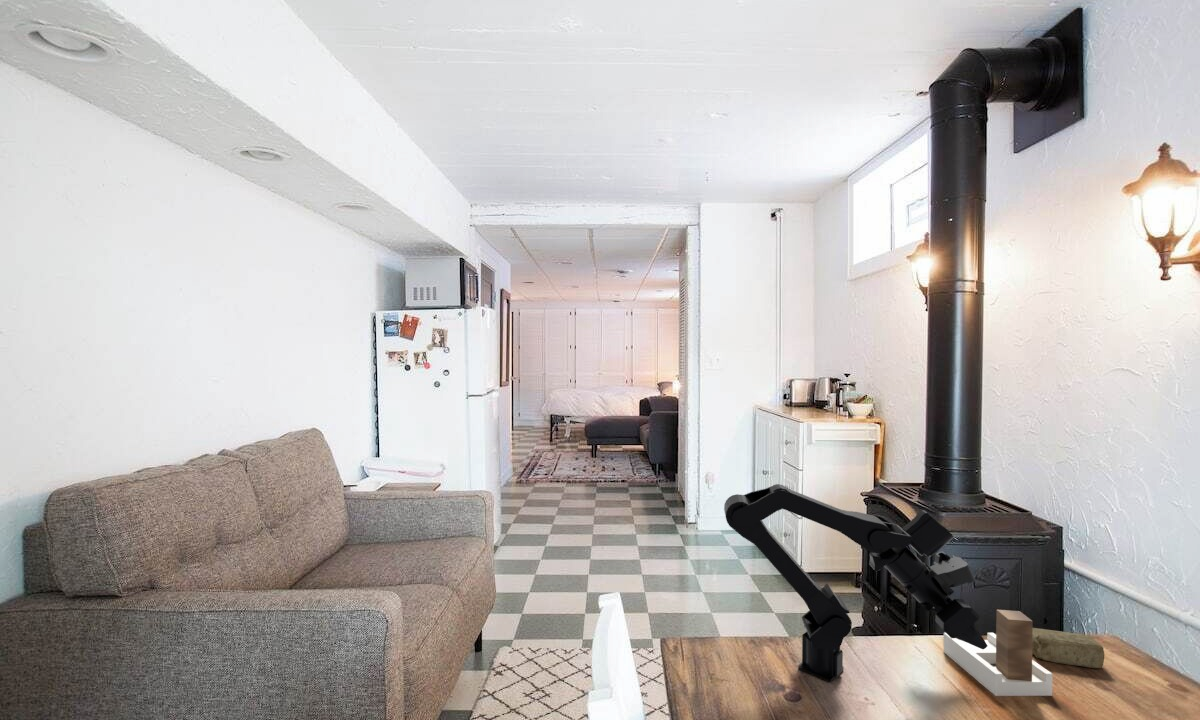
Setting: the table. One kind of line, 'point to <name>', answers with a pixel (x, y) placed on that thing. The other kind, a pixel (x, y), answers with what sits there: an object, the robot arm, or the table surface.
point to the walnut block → (1014, 645)
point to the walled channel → (995, 669)
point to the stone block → (1067, 648)
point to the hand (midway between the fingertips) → (972, 634)
